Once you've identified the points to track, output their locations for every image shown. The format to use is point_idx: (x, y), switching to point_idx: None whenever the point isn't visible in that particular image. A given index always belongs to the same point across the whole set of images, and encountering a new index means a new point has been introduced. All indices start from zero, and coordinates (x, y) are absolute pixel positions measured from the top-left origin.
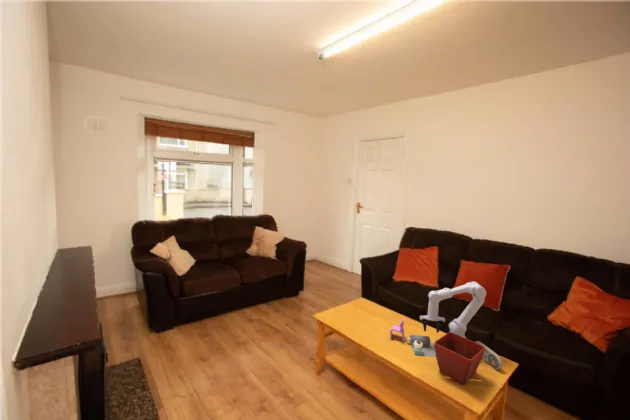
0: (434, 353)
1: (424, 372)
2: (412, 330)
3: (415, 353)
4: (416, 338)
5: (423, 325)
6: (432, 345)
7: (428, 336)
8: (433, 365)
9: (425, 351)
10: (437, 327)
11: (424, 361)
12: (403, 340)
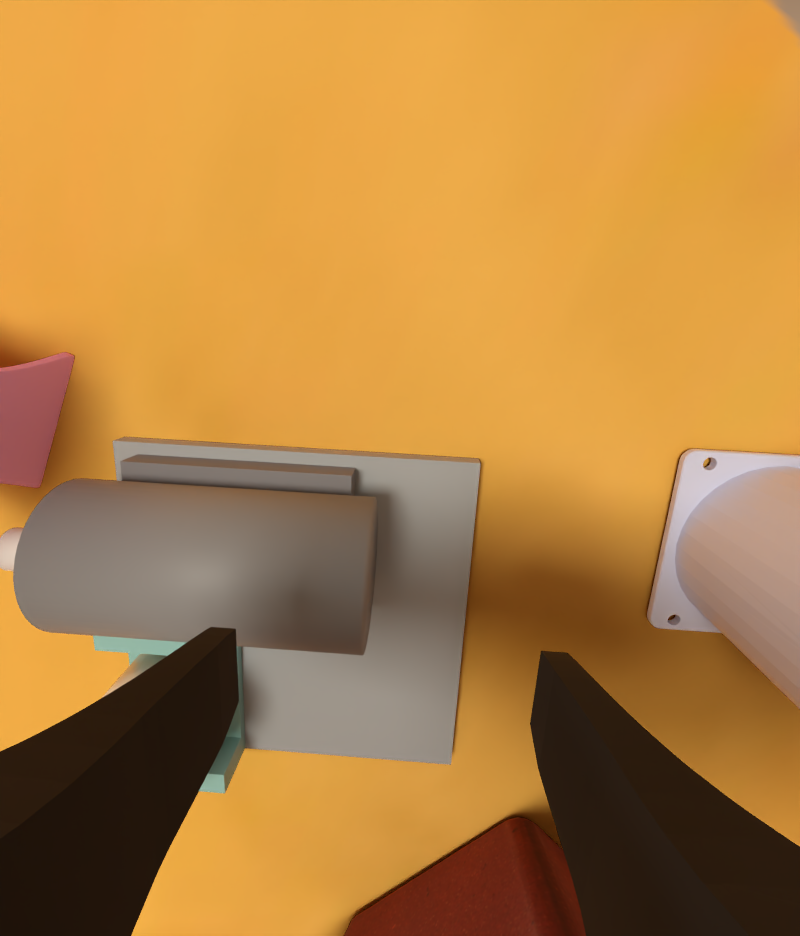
0: (393, 704)
1: (201, 924)
2: (240, 41)
3: None
4: (120, 634)
5: (118, 705)
6: (436, 540)
7: (351, 596)
8: (318, 845)
9: (289, 675)
10: (581, 791)
11: (240, 798)
12: (16, 471)
